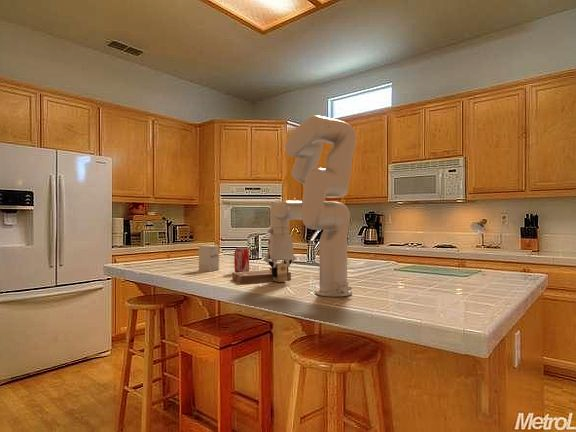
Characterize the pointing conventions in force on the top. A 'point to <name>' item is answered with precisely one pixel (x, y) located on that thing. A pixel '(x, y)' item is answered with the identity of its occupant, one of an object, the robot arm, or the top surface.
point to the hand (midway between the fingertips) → (280, 276)
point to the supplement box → (208, 258)
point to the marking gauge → (280, 272)
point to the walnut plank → (254, 276)
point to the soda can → (241, 260)
